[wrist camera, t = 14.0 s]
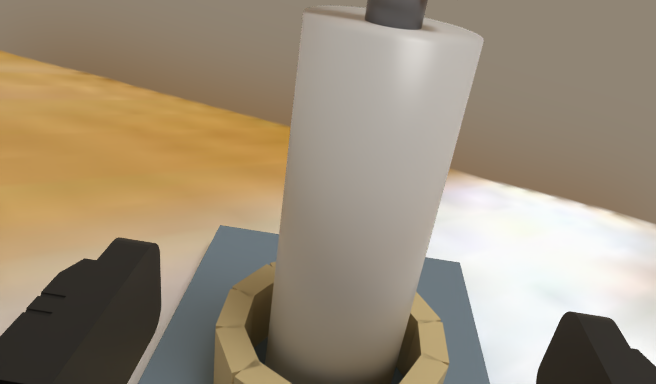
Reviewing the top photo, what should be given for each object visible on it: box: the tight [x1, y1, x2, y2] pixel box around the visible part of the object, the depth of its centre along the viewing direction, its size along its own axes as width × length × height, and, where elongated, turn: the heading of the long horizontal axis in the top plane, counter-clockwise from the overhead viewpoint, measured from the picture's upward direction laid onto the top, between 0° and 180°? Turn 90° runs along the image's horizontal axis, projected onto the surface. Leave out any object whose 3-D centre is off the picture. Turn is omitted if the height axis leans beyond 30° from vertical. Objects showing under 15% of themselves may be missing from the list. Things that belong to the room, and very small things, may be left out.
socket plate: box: [138, 225, 490, 384], centre depth 20 cm, size 14×20×4 cm
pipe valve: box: [265, 0, 484, 384], centre depth 17 cm, size 7×5×16 cm
